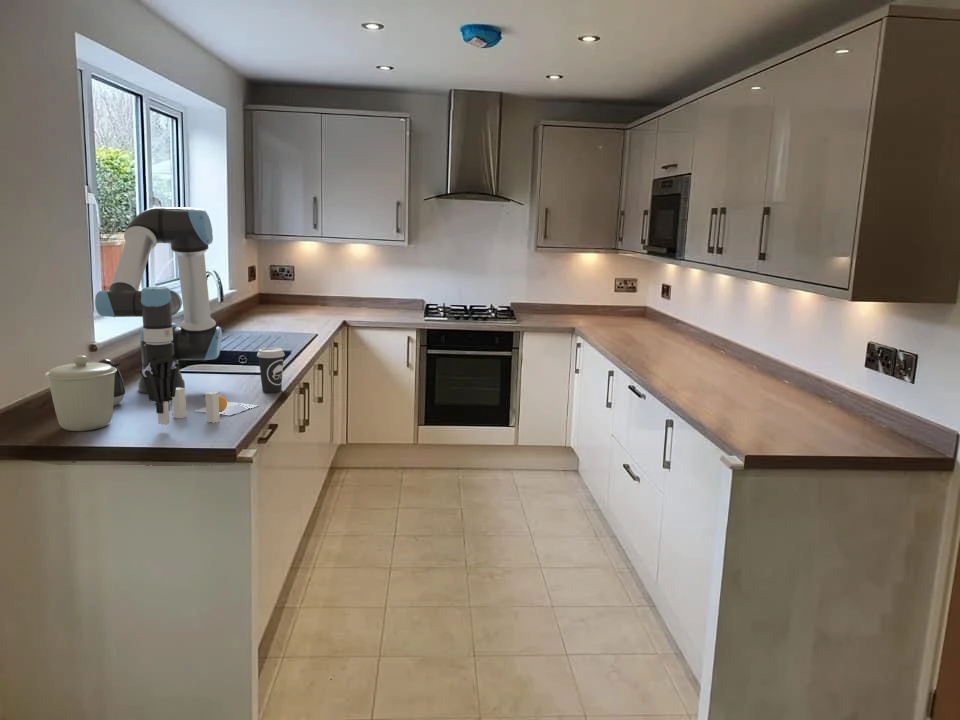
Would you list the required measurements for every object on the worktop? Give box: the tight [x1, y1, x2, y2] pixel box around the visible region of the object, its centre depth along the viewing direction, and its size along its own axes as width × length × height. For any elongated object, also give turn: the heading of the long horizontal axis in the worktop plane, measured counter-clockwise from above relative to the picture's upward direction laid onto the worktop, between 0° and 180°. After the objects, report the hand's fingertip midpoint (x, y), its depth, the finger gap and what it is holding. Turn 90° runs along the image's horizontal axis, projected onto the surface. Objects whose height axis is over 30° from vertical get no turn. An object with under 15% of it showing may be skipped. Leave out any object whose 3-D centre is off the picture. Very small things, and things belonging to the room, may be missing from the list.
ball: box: [218, 394, 228, 412], centre depth 226 cm, size 6×6×6 cm
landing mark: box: [194, 400, 260, 416], centre depth 231 cm, size 14×14×1 cm
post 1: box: [171, 387, 187, 419], centre depth 219 cm, size 3×3×9 cm
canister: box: [44, 354, 117, 432], centre depth 206 cm, size 18×18×21 cm
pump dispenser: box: [96, 358, 126, 407], centre depth 231 cm, size 10×10×15 cm
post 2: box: [204, 391, 221, 424], centre depth 215 cm, size 3×3×9 cm
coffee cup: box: [256, 347, 286, 394], centre depth 254 cm, size 10×10×15 cm
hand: (164, 423), depth 205 cm, fingers closed
